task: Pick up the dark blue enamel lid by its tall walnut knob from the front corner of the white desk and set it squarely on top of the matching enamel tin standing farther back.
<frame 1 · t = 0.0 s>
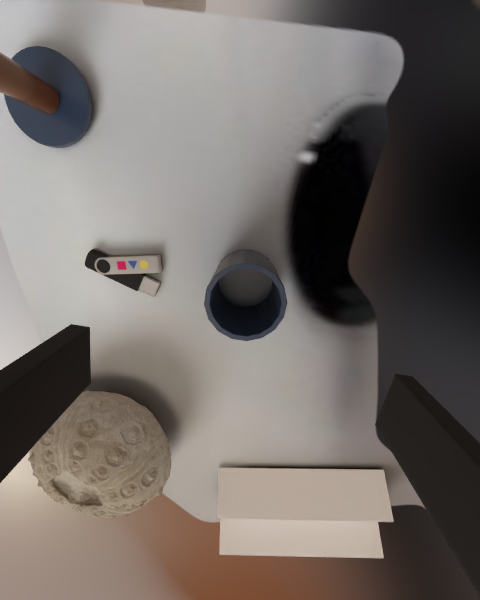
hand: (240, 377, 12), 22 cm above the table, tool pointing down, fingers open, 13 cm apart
z bracket: (297, 506, 44), on the table
usb flash drive: (129, 262, 32), on the table
lid: (50, 101, 27), point 1 cm above the table
decorative shell: (124, 423, 40), on the table
tin: (245, 280, 33), on the table
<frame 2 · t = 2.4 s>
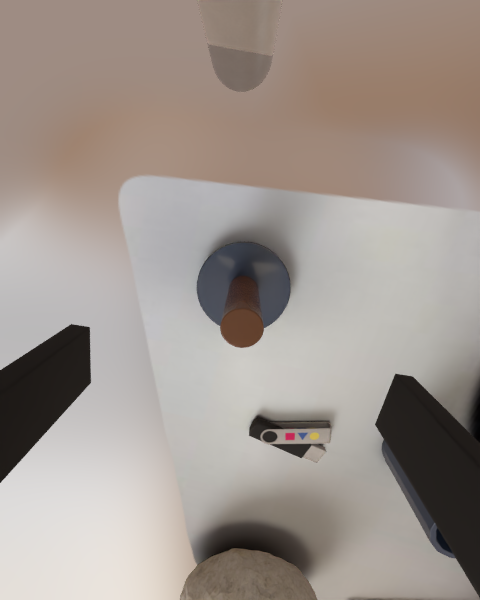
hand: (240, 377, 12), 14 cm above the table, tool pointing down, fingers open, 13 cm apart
usb flash drive: (292, 426, 30), on the table
lid: (243, 288, 24), point 1 cm above the table
decorative shell: (255, 564, 37), on the table
tin: (415, 444, 30), on the table
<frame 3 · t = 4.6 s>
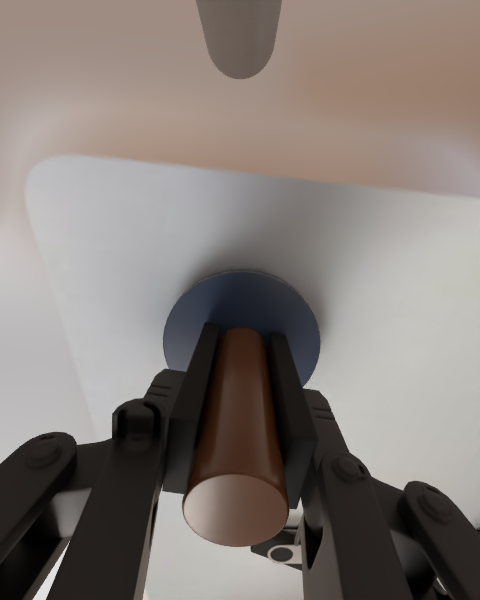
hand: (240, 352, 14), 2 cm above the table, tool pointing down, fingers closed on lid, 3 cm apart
usb flash drive: (315, 533, 20), on the table
lid: (241, 344, 15), point 1 cm above the table, touching gripper
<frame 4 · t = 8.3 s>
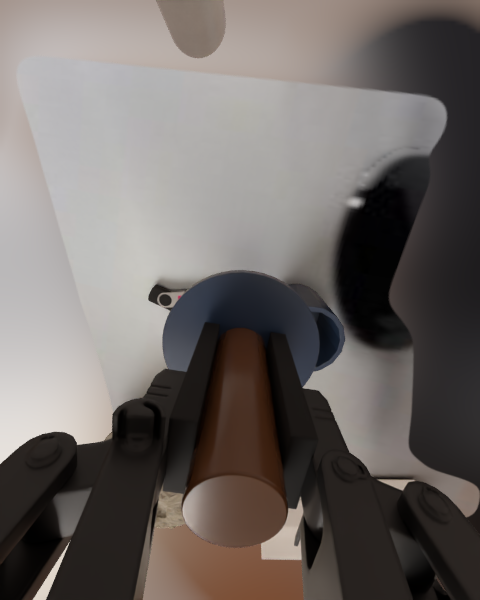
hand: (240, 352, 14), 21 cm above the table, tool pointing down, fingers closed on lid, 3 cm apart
z bracket: (331, 513, 47), on the table
usb flash drive: (187, 295, 35), on the table
lid: (240, 344, 15), point 20 cm above the table, touching gripper
decorative shell: (174, 439, 43), on the table
tin: (293, 310, 35), on the table
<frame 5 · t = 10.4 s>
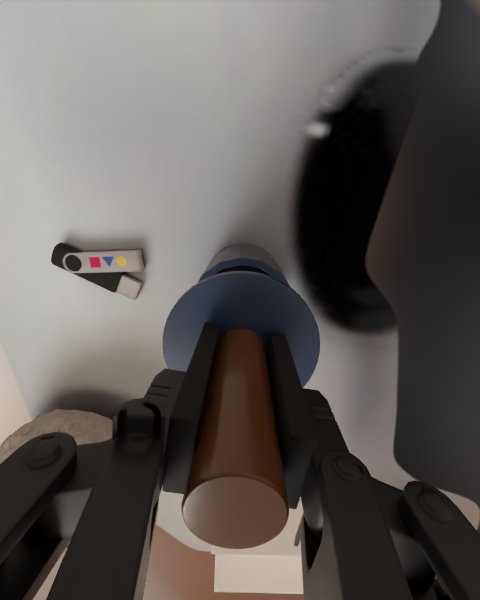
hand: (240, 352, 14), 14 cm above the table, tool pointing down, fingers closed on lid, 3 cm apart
z bracket: (301, 534, 39), on the table
usb flash drive: (105, 258, 27), on the table
lid: (241, 344, 15), point 14 cm above the table, touching gripper
decorative shell: (105, 444, 34), on the table
tin: (243, 280, 27), on the table
when the fingers open (9 cm above the table, at t = 11.9 s): lid stays where it is, resting on tin.
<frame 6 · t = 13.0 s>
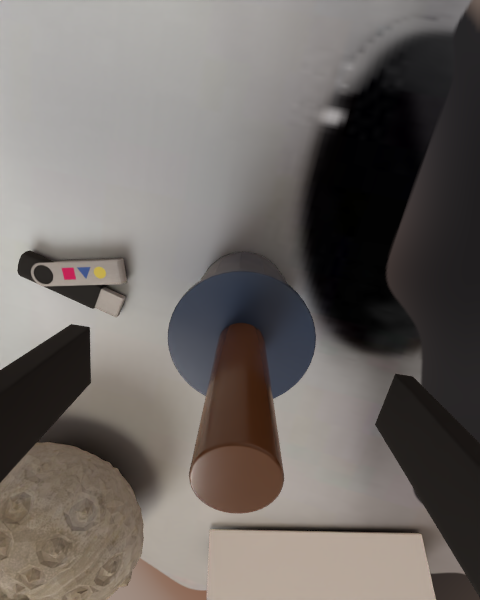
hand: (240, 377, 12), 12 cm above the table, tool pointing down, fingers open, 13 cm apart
z bracket: (308, 573, 35), on the table
usb flash drive: (82, 268, 23), on the table
lid: (241, 339, 15), point 8 cm above the table, touching tin
decorative shell: (87, 476, 30), on the table
tin: (243, 294, 24), on the table
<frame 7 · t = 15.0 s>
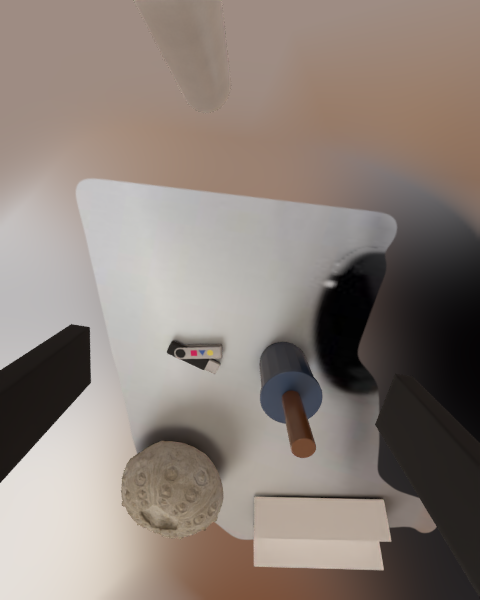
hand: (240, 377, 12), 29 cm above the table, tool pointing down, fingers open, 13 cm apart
z bracket: (314, 527, 55), on the table
usb flash drive: (198, 348, 44), on the table
lid: (290, 395, 36), point 8 cm above the table, touching tin
decorative shell: (182, 462, 51), on the table
tin: (282, 362, 44), on the table
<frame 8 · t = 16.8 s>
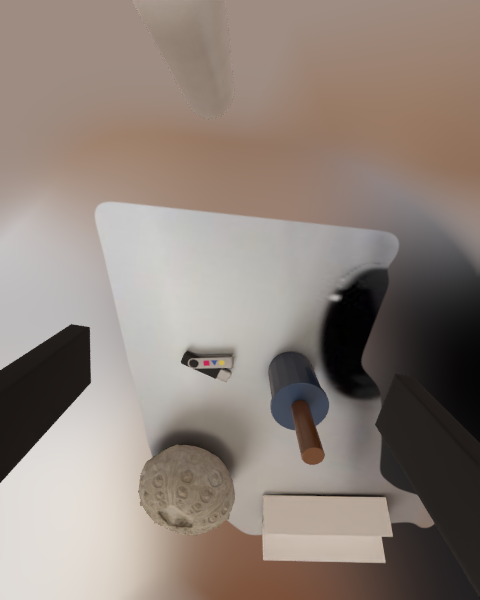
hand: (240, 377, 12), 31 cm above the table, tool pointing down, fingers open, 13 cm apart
z bracket: (319, 523, 59), on the table
usb flash drive: (210, 358, 46), on the table
lid: (299, 404, 39), point 8 cm above the table, touching tin
decorative shell: (195, 463, 54), on the table
tin: (289, 370, 47), on the table
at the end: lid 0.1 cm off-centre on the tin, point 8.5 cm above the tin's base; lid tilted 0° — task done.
